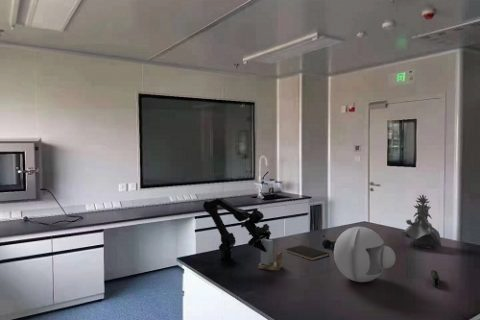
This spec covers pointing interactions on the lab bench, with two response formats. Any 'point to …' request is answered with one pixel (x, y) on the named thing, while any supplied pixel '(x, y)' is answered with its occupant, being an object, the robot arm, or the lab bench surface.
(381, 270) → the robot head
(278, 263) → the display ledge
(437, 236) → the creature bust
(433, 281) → the mobile phone
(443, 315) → the lab bench surface
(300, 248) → the hardcover book
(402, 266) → the lab bench surface
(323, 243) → the headset
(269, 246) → the grey tapered block
